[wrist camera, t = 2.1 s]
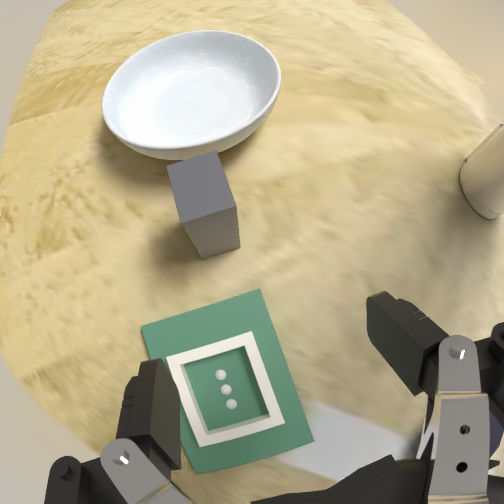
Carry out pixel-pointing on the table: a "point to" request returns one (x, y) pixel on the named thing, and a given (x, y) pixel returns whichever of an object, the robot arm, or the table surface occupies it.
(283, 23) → the table surface
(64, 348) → the table surface
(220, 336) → the board
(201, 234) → the gray rectangular block
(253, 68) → the serving bowl
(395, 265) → the table surface
